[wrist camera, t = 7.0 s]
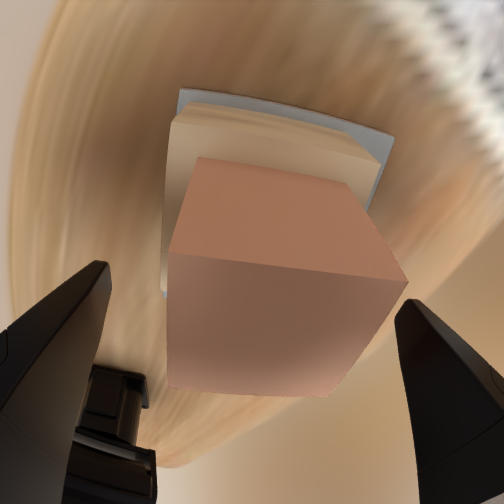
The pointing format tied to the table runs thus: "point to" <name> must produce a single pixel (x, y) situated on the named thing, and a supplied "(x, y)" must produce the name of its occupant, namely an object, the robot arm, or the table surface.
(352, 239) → the top brick
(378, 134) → the build plate
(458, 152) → the table surface
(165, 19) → the table surface
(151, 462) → the robot arm
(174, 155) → the base brick
